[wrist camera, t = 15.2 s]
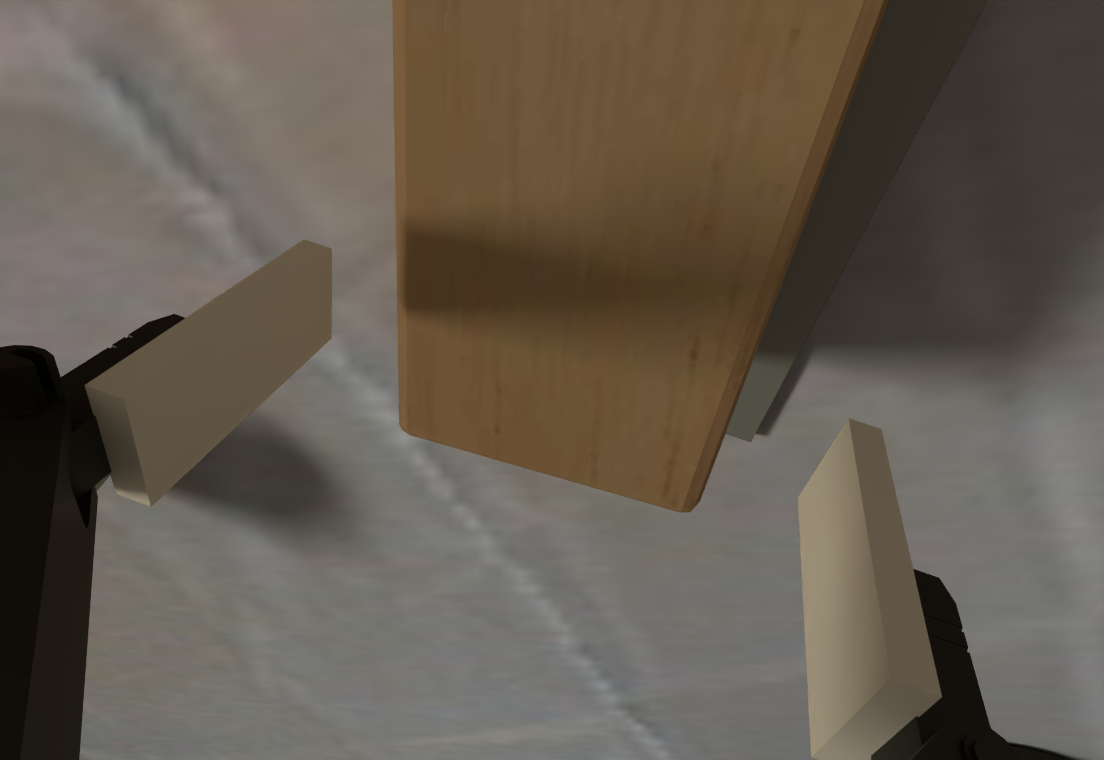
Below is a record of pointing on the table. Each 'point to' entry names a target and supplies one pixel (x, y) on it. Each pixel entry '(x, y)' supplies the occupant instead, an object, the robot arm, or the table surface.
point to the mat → (856, 179)
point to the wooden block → (604, 219)
